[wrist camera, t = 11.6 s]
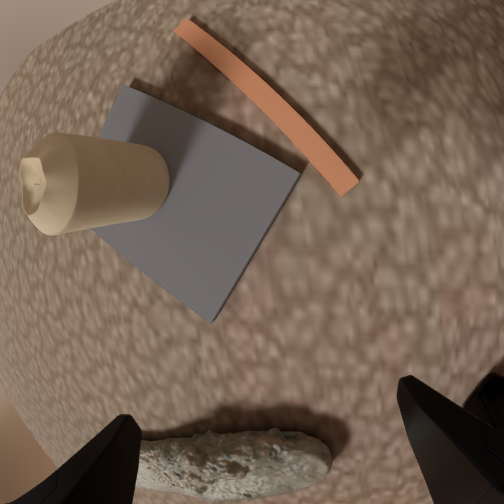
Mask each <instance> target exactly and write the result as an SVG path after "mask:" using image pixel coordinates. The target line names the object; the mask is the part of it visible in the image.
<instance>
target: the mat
mask: <svg viewBox="0 0 504 504" xmlns="http://www.w3.org/2000/svg"><path fill="white" fill-rule="evenodd" d="M99 138H103V139H110V140H116V141H122V142H128V143H134V144H140V145H144V146H148V147H151V148H153V149H155V150H156V151H158V152H159V153H160V154H161V155H162V157H163V158H164V160H165V161H166V164H167V166H168V169H169V175H170V186H169V192H168V195H167V198H166V200H165V202H164V204H163V205H162V207H161V208H160V209H159V210H158V211H157V212H156V213H155V214H153V215H152V216H150V217H147V218H145V219H141V220H136V221H130V222H124V223H118V224H112V225H106V226H100V227H95V228H91V229H92V230H93V231H94V232H95V233H96V234H97V235H99V236H100V237H101V238H102V239H103V240H104V241H106V242H107V243H108V244H109V245H110V246H111V247H113V248H114V249H115V250H116V251H117V252H119V253H120V254H121V255H122V256H123V257H125V258H126V259H127V260H128V261H129V262H131V263H132V264H133V265H134V266H136V267H137V268H138V269H139V270H141V271H142V272H143V273H144V274H145V275H147V276H148V277H149V278H151V279H152V280H153V281H154V282H156V283H157V284H158V285H159V286H161V287H162V288H163V289H165V290H166V291H167V292H168V293H170V294H171V295H172V296H174V297H175V298H176V299H178V300H179V301H180V302H182V303H183V304H184V305H186V306H187V307H188V308H190V309H191V310H192V311H194V312H195V313H196V314H198V315H199V316H201V317H202V318H203V319H205V320H206V321H207V322H209V323H210V324H211V323H212V322H213V321H214V320H215V319H216V318H217V316H218V314H219V313H220V311H221V309H222V308H223V306H224V304H225V302H226V301H227V299H228V297H229V296H230V294H231V292H232V291H233V289H234V287H235V286H236V284H237V282H238V281H239V279H240V277H241V276H242V274H243V272H244V271H245V269H246V267H247V266H248V264H249V262H250V261H251V259H252V257H253V256H254V254H255V252H256V251H257V249H258V247H259V246H260V244H261V242H262V240H263V239H264V237H265V235H266V234H267V232H268V230H269V229H270V227H271V225H272V224H273V222H274V220H275V219H276V217H277V215H278V214H279V212H280V210H281V209H282V207H283V205H284V204H285V202H286V200H287V198H288V197H289V195H290V193H291V192H292V190H293V188H294V187H295V185H296V183H297V182H298V180H299V178H300V177H301V175H302V174H301V173H299V172H298V171H296V170H294V169H292V168H291V167H289V166H287V165H286V164H284V163H282V162H280V161H279V160H277V159H275V158H273V157H272V156H270V155H268V154H266V153H264V152H263V151H261V150H259V149H257V148H255V147H254V146H252V145H250V144H248V143H246V142H244V141H242V140H241V139H239V138H237V137H235V136H233V135H231V134H229V133H227V132H225V131H223V130H221V129H219V128H217V127H216V126H214V125H212V124H210V123H208V122H206V121H204V120H201V119H199V118H197V117H195V116H193V115H191V114H189V113H187V112H185V111H183V110H181V109H178V108H176V107H174V106H172V105H170V104H168V103H165V102H163V101H161V100H159V99H156V98H154V97H152V96H150V95H147V94H145V93H143V92H140V91H138V90H136V89H133V88H131V87H128V86H126V85H123V86H122V88H121V90H120V92H119V94H118V96H117V98H116V100H115V102H114V104H113V106H112V108H111V111H110V113H109V115H108V117H107V119H106V122H105V124H104V126H103V128H102V131H101V133H100V135H99Z"/></svg>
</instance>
